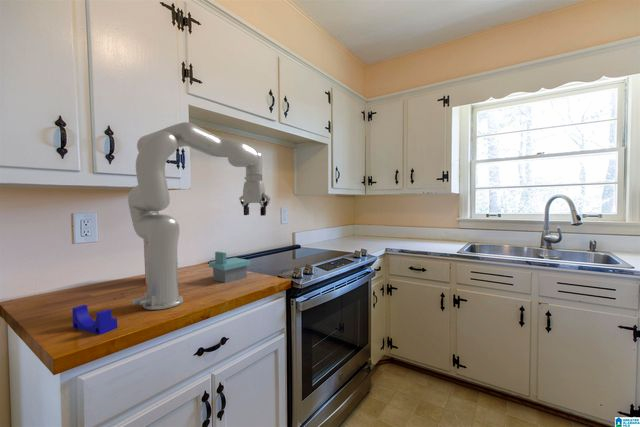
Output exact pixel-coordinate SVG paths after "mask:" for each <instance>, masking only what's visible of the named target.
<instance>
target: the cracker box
mask: <svg viewBox="0 0 640 427" xmlns="http://www.w3.org/2000/svg"><path fill="white" fill-rule="evenodd" d="M148 243H149V240H146V239H143V256H144V275H145V276H144V278H145V285H146V286H147V247H148Z"/></svg>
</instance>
